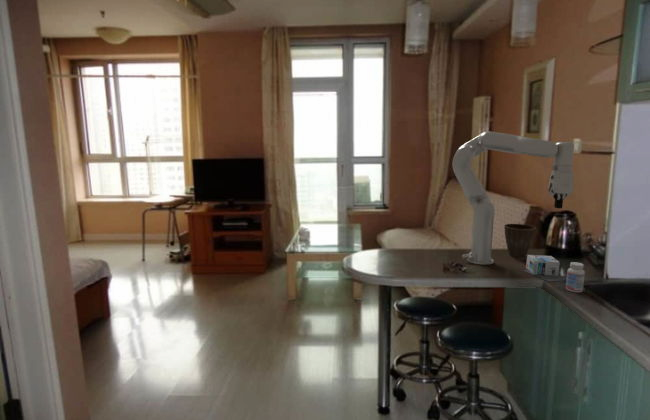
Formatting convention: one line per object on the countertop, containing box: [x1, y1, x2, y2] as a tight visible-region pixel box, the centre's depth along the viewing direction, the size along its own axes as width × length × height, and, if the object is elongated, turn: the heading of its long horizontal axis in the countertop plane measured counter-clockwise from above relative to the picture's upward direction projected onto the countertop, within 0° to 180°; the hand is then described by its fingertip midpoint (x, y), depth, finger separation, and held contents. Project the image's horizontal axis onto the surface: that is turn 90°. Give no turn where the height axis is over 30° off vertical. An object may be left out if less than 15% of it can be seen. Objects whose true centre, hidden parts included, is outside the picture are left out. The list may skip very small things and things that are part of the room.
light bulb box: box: [525, 254, 560, 276], centre depth 189 cm, size 11×7×11 cm
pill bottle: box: [565, 261, 586, 293], centre depth 166 cm, size 6×6×11 cm
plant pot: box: [503, 223, 537, 259], centre depth 216 cm, size 15×15×16 cm
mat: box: [522, 269, 567, 283], centre depth 186 cm, size 11×16×1 cm
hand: (558, 207), depth 193 cm, fingers closed
